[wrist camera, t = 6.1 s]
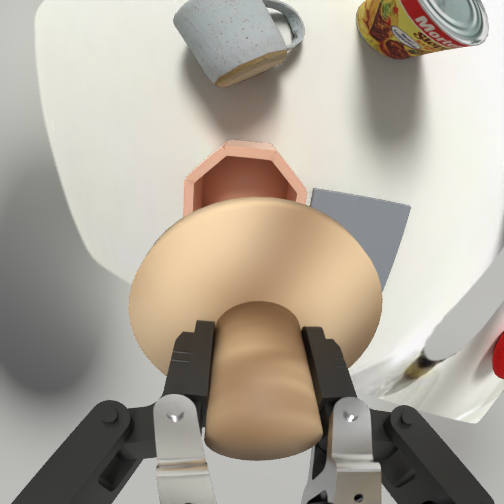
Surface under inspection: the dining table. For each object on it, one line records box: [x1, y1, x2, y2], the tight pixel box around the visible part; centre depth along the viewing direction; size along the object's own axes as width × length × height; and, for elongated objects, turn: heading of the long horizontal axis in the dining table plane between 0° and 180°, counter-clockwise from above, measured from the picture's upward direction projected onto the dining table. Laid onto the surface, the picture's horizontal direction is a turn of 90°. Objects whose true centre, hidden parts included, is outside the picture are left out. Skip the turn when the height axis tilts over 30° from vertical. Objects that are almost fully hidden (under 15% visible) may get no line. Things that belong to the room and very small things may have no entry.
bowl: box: [183, 139, 307, 217], centre depth 26 cm, size 10×10×6 cm
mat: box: [310, 188, 411, 292], centre depth 31 cm, size 12×12×1 cm
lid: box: [129, 197, 382, 461], centre depth 10 cm, size 11×11×6 cm
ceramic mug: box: [173, 0, 305, 87], centre depth 18 cm, size 11×8×8 cm
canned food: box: [356, 0, 489, 60], centre depth 14 cm, size 8×8×12 cm
